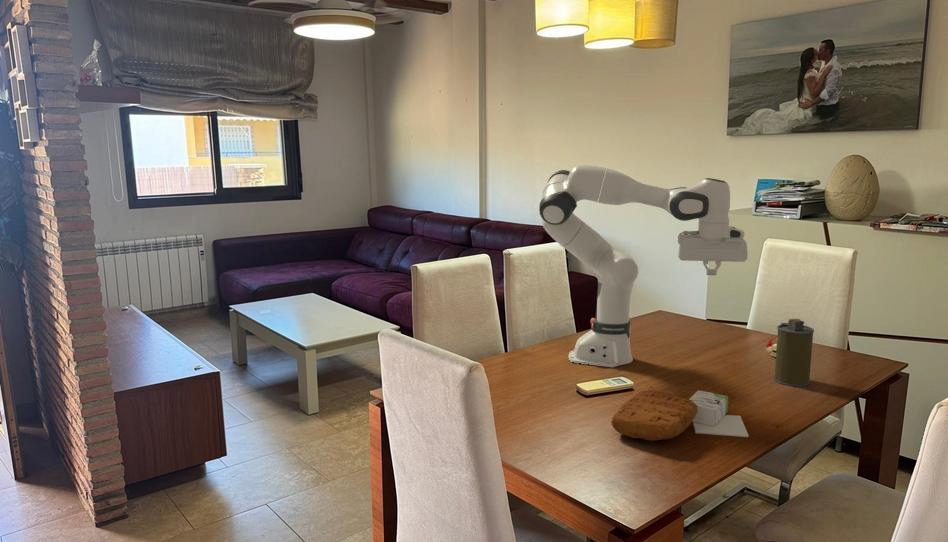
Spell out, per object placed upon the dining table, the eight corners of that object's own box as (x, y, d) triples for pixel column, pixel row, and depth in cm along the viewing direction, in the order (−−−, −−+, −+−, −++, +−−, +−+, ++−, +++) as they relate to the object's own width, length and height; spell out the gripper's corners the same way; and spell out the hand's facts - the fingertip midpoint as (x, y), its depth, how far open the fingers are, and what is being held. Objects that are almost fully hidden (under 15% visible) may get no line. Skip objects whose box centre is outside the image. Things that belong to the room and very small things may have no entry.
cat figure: (770, 344, 248) (763, 357, 227) (771, 322, 247) (765, 332, 226) (798, 348, 243) (794, 361, 222) (800, 325, 242) (796, 336, 221)
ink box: (728, 395, 179) (716, 409, 170) (727, 412, 180) (715, 427, 171) (697, 389, 184) (683, 402, 175) (697, 405, 185) (683, 419, 176)
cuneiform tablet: (643, 410, 184) (644, 384, 182) (702, 426, 173) (704, 397, 171) (605, 437, 167) (605, 407, 166) (668, 456, 156) (669, 424, 155)
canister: (817, 385, 201) (822, 323, 197) (787, 387, 199) (791, 325, 196) (794, 373, 211) (799, 314, 208) (765, 376, 210) (769, 316, 206)
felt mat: (695, 433, 168) (695, 431, 168) (690, 413, 181) (690, 412, 181) (748, 437, 165) (748, 435, 165) (740, 417, 178) (740, 415, 178)
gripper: (679, 232, 199) (677, 276, 201) (750, 232, 194) (747, 277, 197) (677, 229, 205) (675, 272, 207) (746, 230, 200) (743, 273, 203)
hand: (711, 275), depth 202 cm, fingers closed
